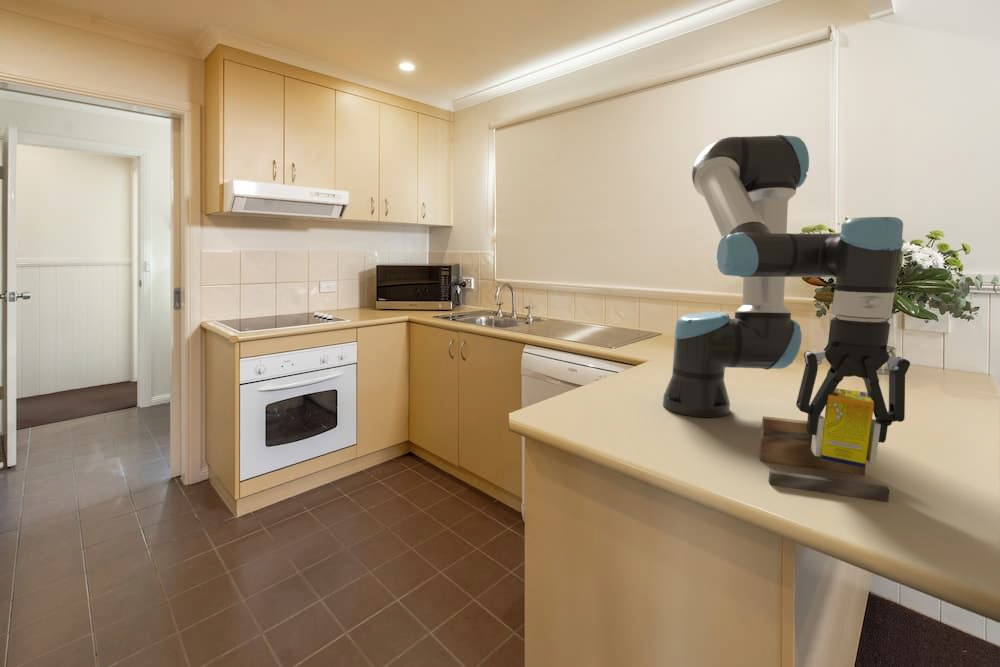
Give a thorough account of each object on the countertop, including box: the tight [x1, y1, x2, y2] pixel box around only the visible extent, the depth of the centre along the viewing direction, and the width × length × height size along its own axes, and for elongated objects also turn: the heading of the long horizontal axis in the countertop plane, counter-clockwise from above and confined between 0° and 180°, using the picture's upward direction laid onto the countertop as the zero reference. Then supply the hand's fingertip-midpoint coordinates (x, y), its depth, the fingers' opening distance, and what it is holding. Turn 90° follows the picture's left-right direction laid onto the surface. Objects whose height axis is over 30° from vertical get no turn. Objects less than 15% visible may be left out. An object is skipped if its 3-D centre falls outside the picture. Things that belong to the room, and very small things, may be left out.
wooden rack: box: [758, 416, 891, 503], centre depth 80 cm, size 16×11×8 cm
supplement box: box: [821, 387, 874, 469], centre depth 78 cm, size 6×6×11 cm
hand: (841, 456), depth 79 cm, fingers closed on supplement box, 7 cm apart
